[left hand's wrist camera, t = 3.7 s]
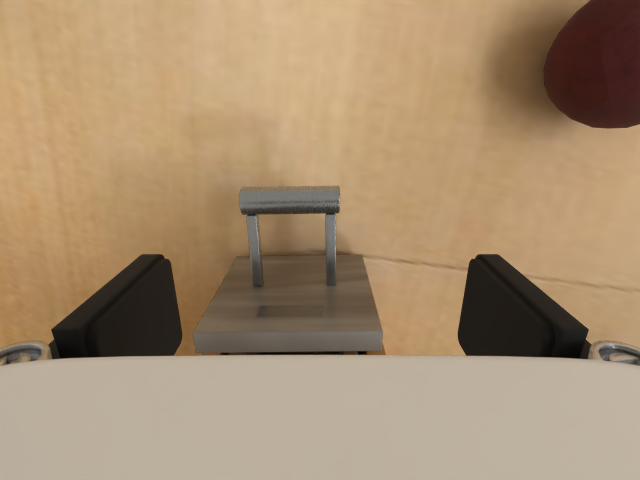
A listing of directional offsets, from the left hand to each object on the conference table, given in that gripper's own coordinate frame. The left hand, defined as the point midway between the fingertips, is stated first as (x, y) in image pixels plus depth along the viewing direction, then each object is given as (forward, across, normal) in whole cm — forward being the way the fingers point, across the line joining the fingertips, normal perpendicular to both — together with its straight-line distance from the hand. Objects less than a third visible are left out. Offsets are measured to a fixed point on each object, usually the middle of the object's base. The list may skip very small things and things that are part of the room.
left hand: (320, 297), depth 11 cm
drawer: (+14, +1, +10) cm, 17 cm away
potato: (+15, -17, -8) cm, 24 cm away
